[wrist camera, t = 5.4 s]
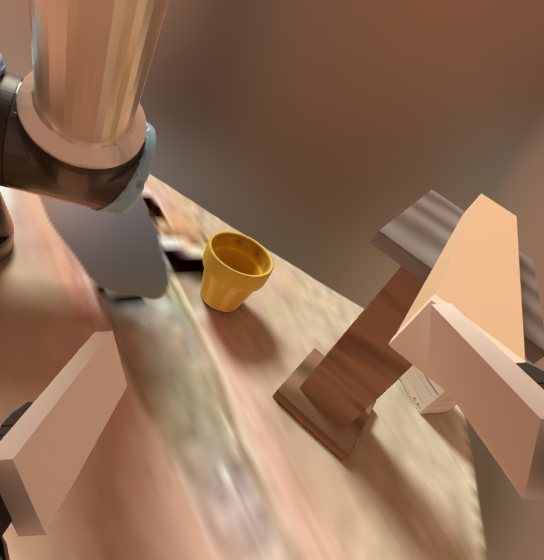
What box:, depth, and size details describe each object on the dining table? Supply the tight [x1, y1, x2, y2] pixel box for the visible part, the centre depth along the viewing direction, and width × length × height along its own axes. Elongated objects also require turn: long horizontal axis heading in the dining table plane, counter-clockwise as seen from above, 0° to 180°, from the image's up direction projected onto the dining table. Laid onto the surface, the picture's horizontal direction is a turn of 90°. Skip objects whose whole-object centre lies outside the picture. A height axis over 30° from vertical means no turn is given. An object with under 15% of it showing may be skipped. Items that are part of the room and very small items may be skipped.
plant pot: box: [201, 231, 273, 312], centre depth 59 cm, size 10×10×10 cm
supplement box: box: [399, 365, 456, 414], centre depth 63 cm, size 7×7×13 cm
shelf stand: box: [273, 190, 544, 461], centre depth 45 cm, size 24×14×30 cm, turn 146°
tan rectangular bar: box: [389, 194, 527, 394], centre depth 30 cm, size 34×5×3 cm, turn 146°
